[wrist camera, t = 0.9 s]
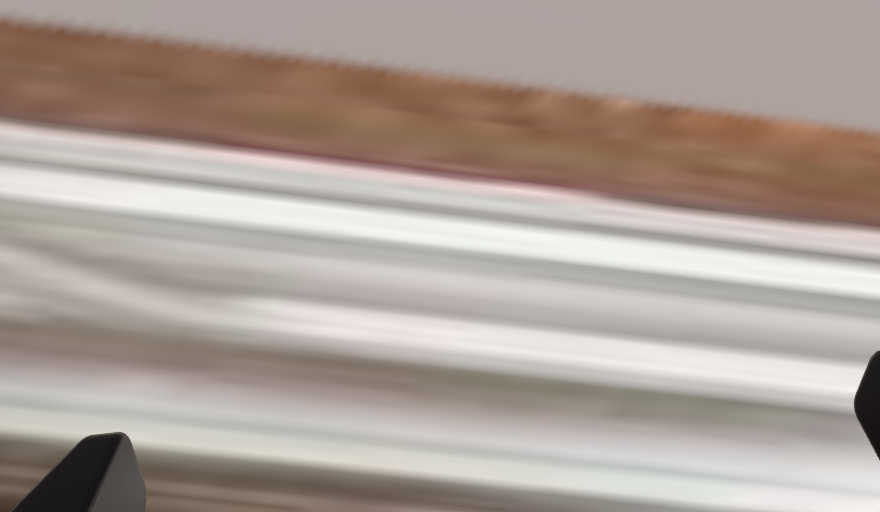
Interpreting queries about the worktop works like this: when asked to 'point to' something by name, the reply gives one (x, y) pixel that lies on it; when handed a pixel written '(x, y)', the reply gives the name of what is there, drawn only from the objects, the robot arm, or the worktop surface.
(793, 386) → the worktop surface
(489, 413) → the worktop surface
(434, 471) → the worktop surface
